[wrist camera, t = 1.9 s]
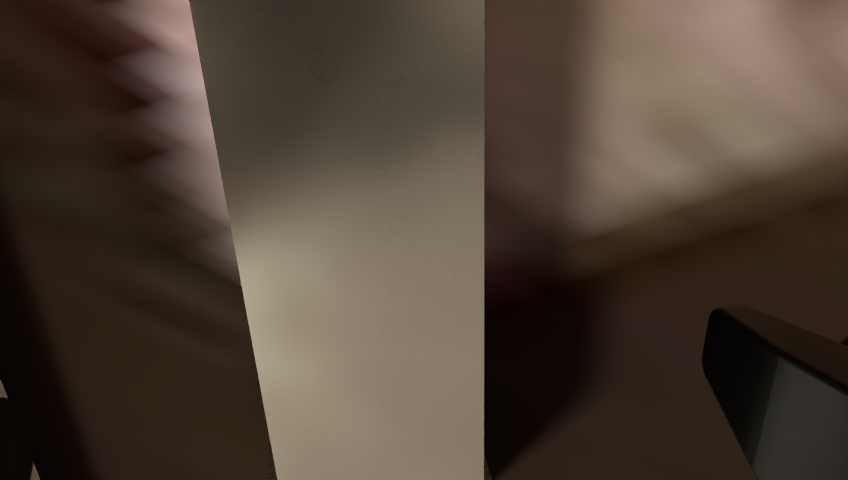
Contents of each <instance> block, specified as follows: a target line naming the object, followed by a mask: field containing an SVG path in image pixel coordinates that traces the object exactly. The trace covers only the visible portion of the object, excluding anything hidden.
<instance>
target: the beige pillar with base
mask: <svg viewBox="0 0 848 480" xmlns="http://www.w3.org/2000/svg"><path fill="white" fill-rule="evenodd" d="M189 2H190V7H191V13H192V18H193V24H194V29H195V35H196V40H197V45H198V51H199V56H200V62H201V67H202V73H203V78H204V83H205V89H206V94H207V100H208V105H209V111H210V116H211V122H212V127H213V132H214V138H215V143H216V149H217V154H218V160H219V165H220V170H221V176H222V181H223V187H224V192H225V198H226V203H227V208H228V214H229V219H230V225H231V230H232V236H233V241H234V246H235V252H236V257H237V263H238V268H239V274H240V279H241V284H242V290H243V295H244V301H245V306H246V312H247V317H248V322H249V328H250V333H251V339H252V344H253V350H254V355H255V361H256V366H257V371H258V377H259V382H260V388H261V393H262V399H263V404H264V409H265V415H266V420H267V426H268V431H269V437H270V444H269V466H268V480H492V478H491V475H490V472H489V469H488V465H487V462H486V459H485V456H484V123H485V0H189Z"/></svg>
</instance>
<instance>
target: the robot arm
mask: <svg viewBox="0 0 848 480" xmlns="http://www.w3.org/2000/svg"><path fill="white" fill-rule="evenodd" d="M702 365H703V370H704V373H705V376H706V378H707V380H708V382H709V384H710V386H711V388H712V390H713V392H714V394H715V396H716V398H717V400H718V402H719V404H720V406H721V408H722V410H723V412H724V414H725V416H726V418H727V420H728V422H729V424H730V426H731V428H732V430H733V432H734V434H735V436H736V438H737V440H738V442H739V445H740V447H741V449H742V451H743V453H744V455H745V456H746V458H747V460H748V462H749V464H750V466H751V468H752V469H753V471H754V473H755V474H756V476H757V478H758V479H759V480H848V346H847V345H844V344H842V343H839V342H837V341H834V340H832V339H829V338H827V337H824V336H822V335H819V334H816V333H814V332H811V331H809V330H806V329H804V328H801V327H799V326H796V325H794V324H791V323H789V322H786V321H784V320H781V319H779V318H776V317H774V316H771V315H769V314H766V313H764V312H761V311H759V310H756V309H754V308H751V307H749V306H746V305H733V306H725V307H718V308H715V309H714V310H713V311H712V312H711V314H710V316H709V320H708V325H707V331H706V337H705V342H704V348H703V354H702ZM33 462H34V457H33V449H32V446H31V443H30V441H29V438H28V436H27V433H26V430H25V428H24V425H23V423H22V420H21V418H20V415H19V413H18V410H17V408H16V406H15V404H14V403H13V402H12V400H10V399H8V398H5V397H2V398H0V480H30V479H31V474H32V470H33Z"/></svg>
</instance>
